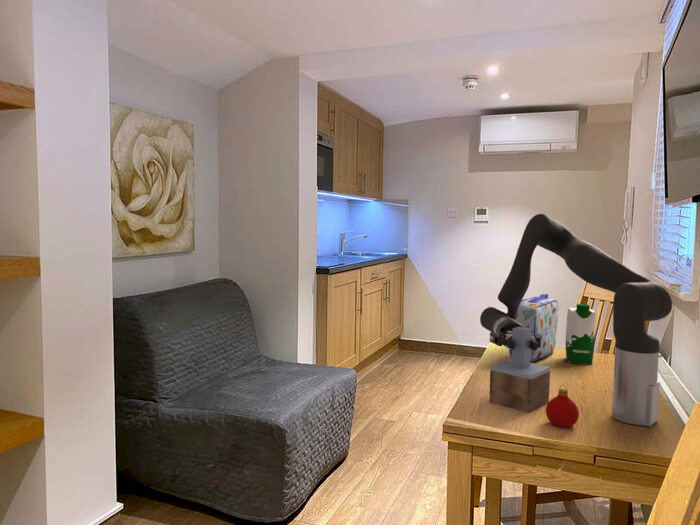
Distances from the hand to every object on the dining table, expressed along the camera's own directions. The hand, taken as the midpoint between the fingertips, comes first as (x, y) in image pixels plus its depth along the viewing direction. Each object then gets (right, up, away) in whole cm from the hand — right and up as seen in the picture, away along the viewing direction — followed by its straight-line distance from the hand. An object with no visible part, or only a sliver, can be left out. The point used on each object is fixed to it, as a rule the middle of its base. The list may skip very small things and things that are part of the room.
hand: (524, 346), depth 132 cm
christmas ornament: (+5, -17, -11) cm, 21 cm away
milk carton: (+35, -13, +48) cm, 61 cm away
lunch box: (+21, -12, +54) cm, 60 cm away
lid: (0, -8, +3) cm, 9 cm away
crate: (0, -16, +4) cm, 16 cm away
